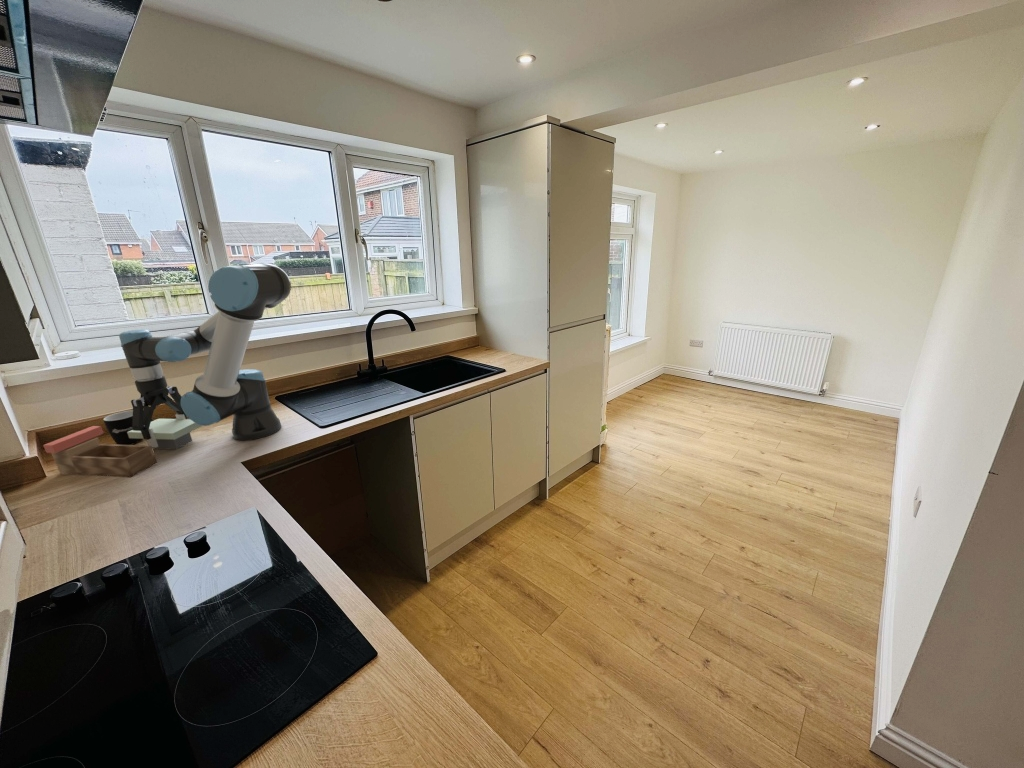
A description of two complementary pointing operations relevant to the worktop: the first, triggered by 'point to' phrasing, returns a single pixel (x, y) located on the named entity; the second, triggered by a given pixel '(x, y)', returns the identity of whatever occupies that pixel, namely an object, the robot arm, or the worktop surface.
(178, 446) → the lid rest
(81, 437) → the red rectangular bar
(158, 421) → the lid
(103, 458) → the toolbox
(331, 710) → the worktop surface
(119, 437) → the mug
